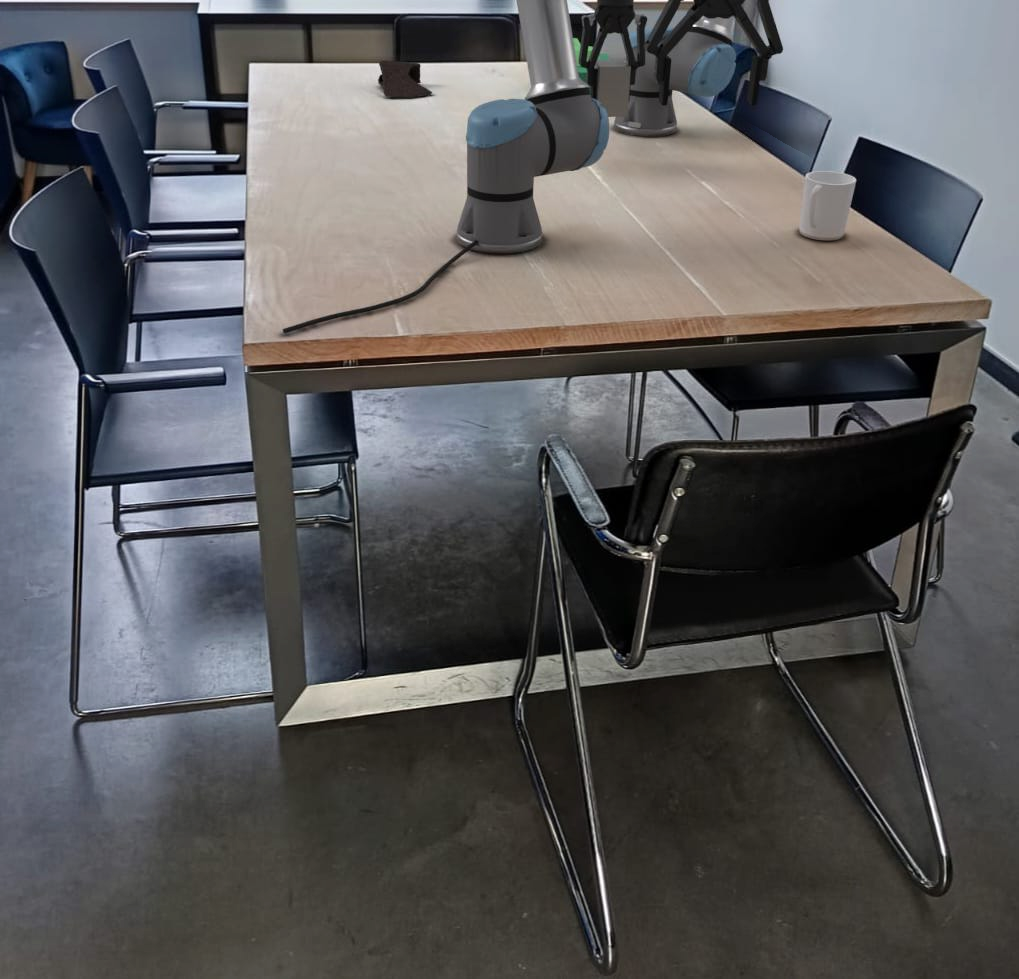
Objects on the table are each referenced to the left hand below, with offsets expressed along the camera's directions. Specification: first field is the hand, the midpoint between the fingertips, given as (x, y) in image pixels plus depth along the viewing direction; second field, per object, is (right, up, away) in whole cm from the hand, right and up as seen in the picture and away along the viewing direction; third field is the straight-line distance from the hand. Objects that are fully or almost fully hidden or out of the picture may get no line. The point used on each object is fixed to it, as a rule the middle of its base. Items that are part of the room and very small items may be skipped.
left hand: (707, 103), depth 164 cm
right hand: (-8, +26, +71) cm, 76 cm away
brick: (-8, +24, +73) cm, 77 cm away
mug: (+27, -11, +38) cm, 48 cm away
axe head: (-59, +52, +136) cm, 157 cm away
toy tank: (-11, +52, +139) cm, 149 cm away
